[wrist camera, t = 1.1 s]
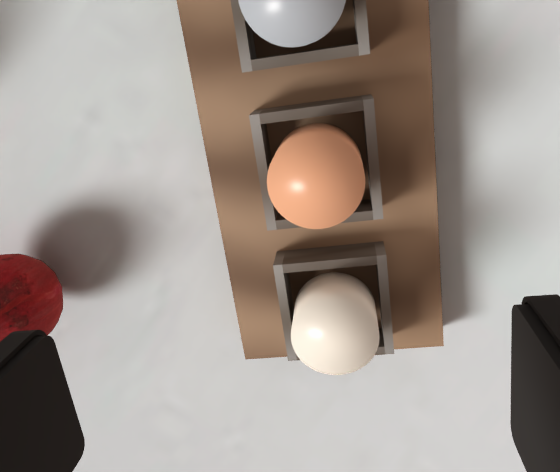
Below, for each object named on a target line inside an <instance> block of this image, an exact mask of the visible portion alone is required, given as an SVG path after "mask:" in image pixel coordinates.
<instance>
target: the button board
mask: <svg viewBox="0 0 560 472" xmlns="http://www.w3.org/2000/svg"><path fill="white" fill-rule="evenodd" d="M177 5H178V10H179V15H180V20H181V25H182V31H183V36H184V41H185V46H186V51H187V57H188V62H189V67H190V72H191V78H192V83H193V88H194V93H195V98H196V104H197V109H198V114H199V119H200V124H201V130H202V135H203V140H204V145H205V151H206V156H207V161H208V166H209V171H210V177H211V182H212V187H213V192H214V197H215V203H216V208H217V213H218V218H219V224H220V229H221V234H222V239H223V244H224V250H225V255H226V260H227V265H228V270H229V276H230V281H231V286H232V291H233V297H234V302H235V307H236V312H237V317H238V323H239V328H240V333H241V338H242V343H243V349H244V354H245V359H257V358H271V357H286V356H288V361H292V360H300V359H299V357H298V356H297V355H296V353H295V351H294V349H293V346H292V342H291V328H292V321H293V315H294V308H295V302H296V298H297V295H298V293H299V291H300V289H301V288H302V287H303V286H304V285H305V284H306V283H307V282H308V281H309V280H310V279H312V278H314V277H316V276H318V275H321V274H325V273H332V272H337V273H344V274H348V275H351V276H353V277H355V278H357V279H359V280H360V281H362V282H363V283H364V284H365V285H366V286H367V287H368V289H369V290H370V292H371V293H372V295H373V298H374V301H375V308H376V314H377V321H378V328H379V345H378V349H377V351H376V353H375V355H383V354H394V349H404V348H419V347H434V346H443V323H442V300H441V277H440V254H439V231H438V209H437V186H436V163H435V140H434V117H433V94H432V71H431V49H430V26H429V3H428V0H346V2H345V6H344V9H343V12H342V14H341V16H340V18H339V20H338V22H337V23H336V25H335V26H334V27H333V29H332V30H331V31H330V32H329V33H328V34H327V35H325V36H324V37H323V38H321V39H319V40H318V41H316V42H313V43H311V44H308V45H305V46H301V47H282V46H278V45H275V44H272V43H270V42H268V41H266V40H264V39H263V38H261V37H260V36H259V35H258V34H257V33H255V32H254V31H253V29H252V28H251V27H250V26H249V24H248V23H247V21H246V20H245V18H244V16H243V14H242V11H241V9H240V6H239V1H238V0H177ZM311 123H326V124H330V125H333V126H336V127H338V128H340V129H342V130H343V131H345V132H346V133H347V134H348V135H349V136H350V137H351V138H352V139H353V140H354V142H355V143H356V145H357V147H358V149H359V151H360V154H361V158H362V163H363V168H364V173H365V190H364V194H363V197H362V200H361V202H360V204H359V206H358V207H357V209H356V210H355V211H354V213H353V214H352V215H351V216H350V217H348V218H347V219H346V220H345V221H343V222H341V223H339V224H337V225H335V226H332V227H329V228H324V229H308V228H303V227H300V226H297V225H295V224H293V223H291V222H290V221H288V220H287V219H285V218H284V217H283V216H282V215H281V214H280V213H279V212H278V211H277V210H276V208H275V207H274V205H273V203H272V201H271V199H270V196H269V193H268V189H267V174H268V169H269V166H270V163H271V161H272V159H273V157H274V155H275V153H276V151H277V149H278V147H279V145H280V144H281V142H282V141H283V139H284V138H285V137H286V136H287V135H288V134H289V133H290V132H292V131H293V130H295V129H296V128H299V127H301V126H303V125H306V124H311Z"/></svg>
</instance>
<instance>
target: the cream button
mask: <svg viewBox="0 0 560 472" xmlns="http://www.w3.org/2000/svg"><path fill="white" fill-rule="evenodd" d="M291 342H292V346H293V349H294V351H295V353H296V355H297V356H298V357H299V359H300V360H301V361H302V362H303V363H304V364H306V365H307V366H308V367H310V368H311V369H313V370H315V371H318V372H321V373H324V374H330V375H342V374H348V373H352V372H354V371H357V370H359V369H361V368H362V367H364V366H365V365H366V364H367V363H369V361H370V360H371V359H372V358H373V356H374V355H375V353H376V351H377V349H378V345H379V328H378V321H377V314H376V308H375V301H374V298H373V295H372V293H371V292H370V290H369V289H368V287H367V286H366V285H365V284H364V283H363V282H362V281H360V280H359V279H357V278H355V277H353V276H351V275H348V274H344V273H337V272H332V273H325V274H321V275H318V276H316V277H314V278H312V279H310V280H309V281H308V282H307V283H306V284H305V285H304V286H303V287H302V288H301V289H300V291H299V293H298V295H297V298H296V302H295V308H294V315H293V321H292V328H291Z"/></svg>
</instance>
